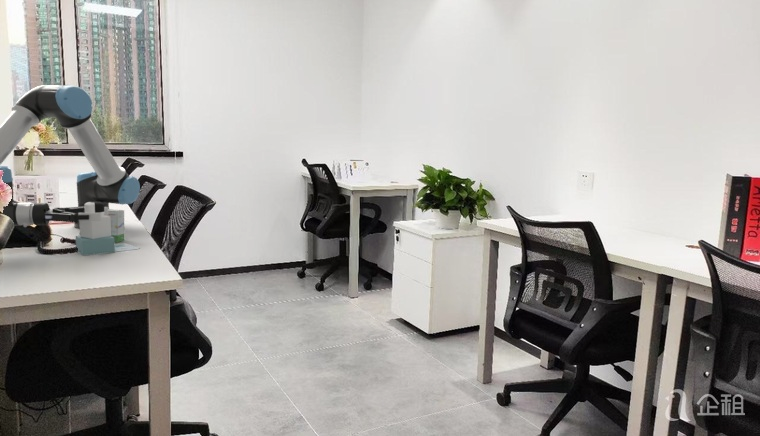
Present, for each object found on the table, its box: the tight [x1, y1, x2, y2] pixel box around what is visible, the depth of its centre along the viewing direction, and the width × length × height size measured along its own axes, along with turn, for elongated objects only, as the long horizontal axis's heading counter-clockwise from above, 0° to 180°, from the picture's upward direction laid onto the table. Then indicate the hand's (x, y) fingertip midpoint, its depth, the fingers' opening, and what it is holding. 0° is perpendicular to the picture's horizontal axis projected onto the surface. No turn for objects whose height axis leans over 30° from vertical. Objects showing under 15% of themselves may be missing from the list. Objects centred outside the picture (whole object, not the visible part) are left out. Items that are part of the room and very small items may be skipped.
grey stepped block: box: [79, 202, 111, 239], centre depth 193 cm, size 7×7×12 cm
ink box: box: [106, 208, 125, 243], centre depth 212 cm, size 9×5×12 cm, turn 84°
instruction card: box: [114, 242, 141, 252], centre depth 202 cm, size 12×8×1 cm, turn 47°
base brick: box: [75, 234, 116, 256], centre depth 195 cm, size 10×10×5 cm
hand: (104, 213), depth 194 cm, fingers open, 13 cm apart
